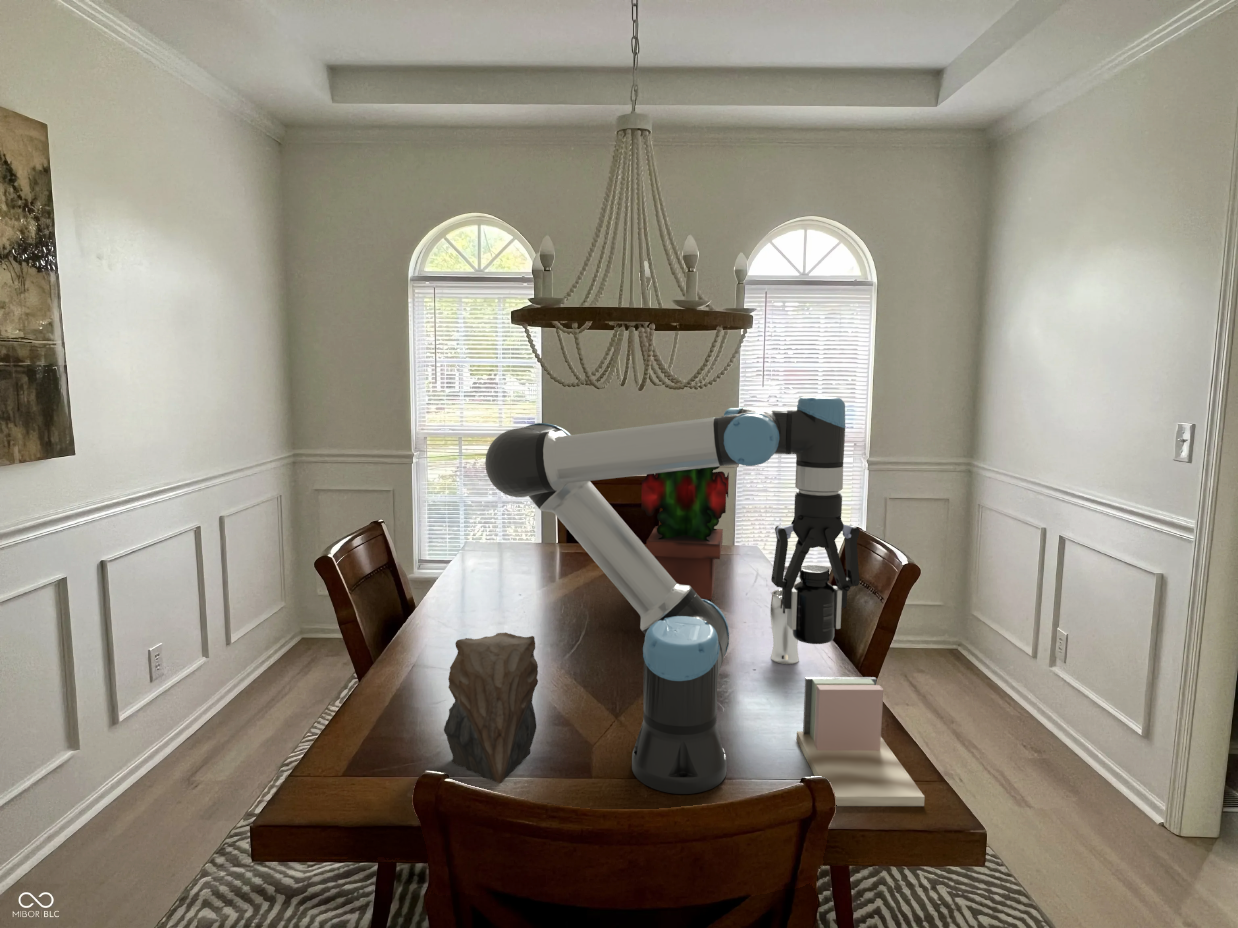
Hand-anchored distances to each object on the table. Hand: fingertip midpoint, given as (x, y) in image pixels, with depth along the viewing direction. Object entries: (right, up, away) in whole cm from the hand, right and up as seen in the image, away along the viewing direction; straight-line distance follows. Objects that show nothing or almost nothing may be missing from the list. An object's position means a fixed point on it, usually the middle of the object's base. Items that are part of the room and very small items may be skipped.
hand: (813, 626), depth 127 cm
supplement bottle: (0, -2, 0) cm, 2 cm away
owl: (-53, -22, -3) cm, 58 cm away
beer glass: (+4, -16, +41) cm, 44 cm away
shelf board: (+5, -22, -6) cm, 24 cm away
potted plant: (-14, -10, +86) cm, 88 cm away
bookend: (+5, -19, +4) cm, 20 cm away
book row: (+5, -20, +1) cm, 20 cm away
